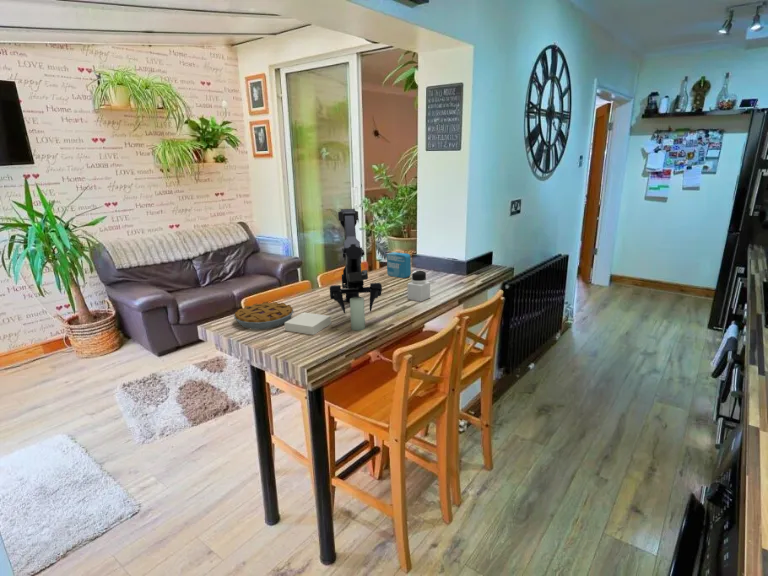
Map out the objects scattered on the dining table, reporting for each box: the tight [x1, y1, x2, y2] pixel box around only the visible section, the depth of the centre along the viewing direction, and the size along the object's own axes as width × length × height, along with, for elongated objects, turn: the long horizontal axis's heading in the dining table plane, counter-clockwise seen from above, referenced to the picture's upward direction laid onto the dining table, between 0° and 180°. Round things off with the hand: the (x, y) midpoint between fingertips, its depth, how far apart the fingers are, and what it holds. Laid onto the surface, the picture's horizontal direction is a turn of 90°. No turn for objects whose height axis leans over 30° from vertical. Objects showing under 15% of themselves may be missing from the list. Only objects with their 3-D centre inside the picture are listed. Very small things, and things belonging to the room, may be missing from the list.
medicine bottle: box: [407, 270, 431, 303], centre depth 191 cm, size 7×7×12 cm
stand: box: [284, 311, 332, 336], centre depth 162 cm, size 12×12×3 cm
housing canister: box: [349, 296, 366, 331], centre depth 159 cm, size 5×5×11 cm
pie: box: [233, 301, 295, 330], centre depth 170 cm, size 22×22×5 cm
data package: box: [386, 251, 412, 279], centre depth 229 cm, size 12×4×12 cm, turn 54°
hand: (357, 311), depth 157 cm, fingers open, 9 cm apart
